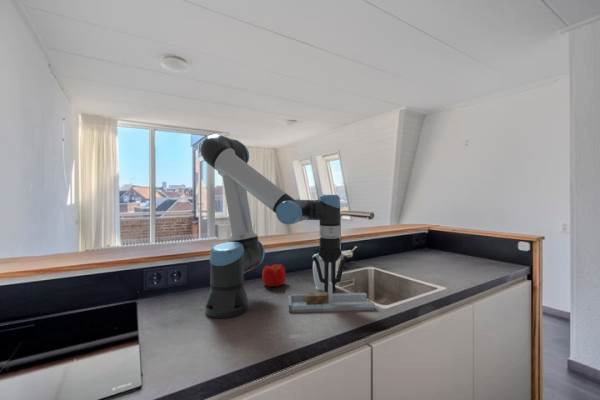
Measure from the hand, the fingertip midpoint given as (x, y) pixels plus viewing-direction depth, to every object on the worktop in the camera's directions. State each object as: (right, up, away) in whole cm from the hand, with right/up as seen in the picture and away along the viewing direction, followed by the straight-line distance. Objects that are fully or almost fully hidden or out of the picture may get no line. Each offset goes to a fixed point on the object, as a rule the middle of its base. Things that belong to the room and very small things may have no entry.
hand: (329, 300), depth 102 cm
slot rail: (0, -2, 0) cm, 2 cm away
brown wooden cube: (-3, -1, 0) cm, 3 cm away
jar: (0, -2, +18) cm, 19 cm away
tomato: (-23, -2, +25) cm, 34 cm away
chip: (-7, -1, -1) cm, 7 cm away
